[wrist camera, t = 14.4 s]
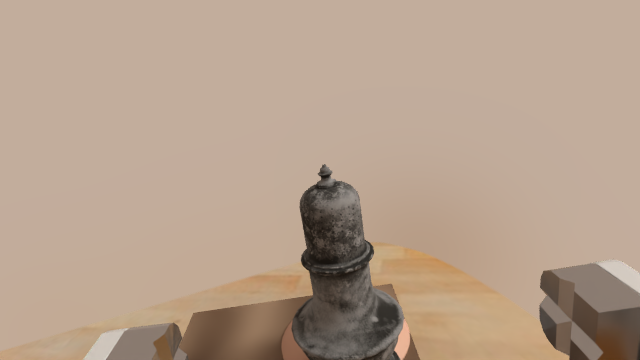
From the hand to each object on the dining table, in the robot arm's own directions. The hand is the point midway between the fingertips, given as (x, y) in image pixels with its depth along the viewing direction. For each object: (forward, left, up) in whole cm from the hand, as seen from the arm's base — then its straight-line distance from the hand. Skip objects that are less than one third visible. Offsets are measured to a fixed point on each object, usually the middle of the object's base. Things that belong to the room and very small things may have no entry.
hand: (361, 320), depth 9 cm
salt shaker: (0, +10, -11) cm, 15 cm away
